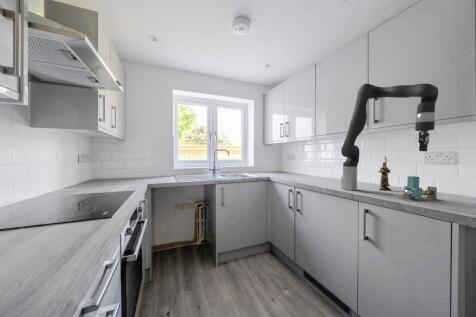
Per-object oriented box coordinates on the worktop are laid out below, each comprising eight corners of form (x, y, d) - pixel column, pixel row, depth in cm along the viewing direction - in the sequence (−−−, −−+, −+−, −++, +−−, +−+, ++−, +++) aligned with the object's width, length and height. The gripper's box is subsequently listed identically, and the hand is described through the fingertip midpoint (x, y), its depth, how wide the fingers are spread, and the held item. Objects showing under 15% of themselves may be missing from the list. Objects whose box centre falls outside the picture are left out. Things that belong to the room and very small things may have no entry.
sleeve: (415, 199, 107) (416, 177, 107) (404, 196, 113) (404, 175, 113) (421, 199, 107) (422, 177, 107) (410, 196, 114) (410, 175, 114)
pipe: (409, 199, 108) (409, 187, 108) (402, 198, 112) (402, 186, 112) (436, 199, 110) (437, 187, 110) (429, 197, 114) (429, 186, 114)
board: (411, 201, 106) (411, 200, 106) (397, 198, 114) (397, 197, 114) (442, 201, 108) (442, 199, 108) (426, 197, 116) (426, 196, 116)
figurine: (376, 189, 143) (377, 156, 143) (384, 188, 147) (385, 156, 147) (385, 191, 138) (386, 156, 137) (394, 190, 141) (395, 156, 141)
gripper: (417, 123, 112) (416, 151, 112) (413, 120, 103) (411, 150, 103) (436, 122, 106) (434, 151, 107) (433, 119, 97) (431, 151, 98)
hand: (423, 151), depth 105 cm, fingers open, 8 cm apart
